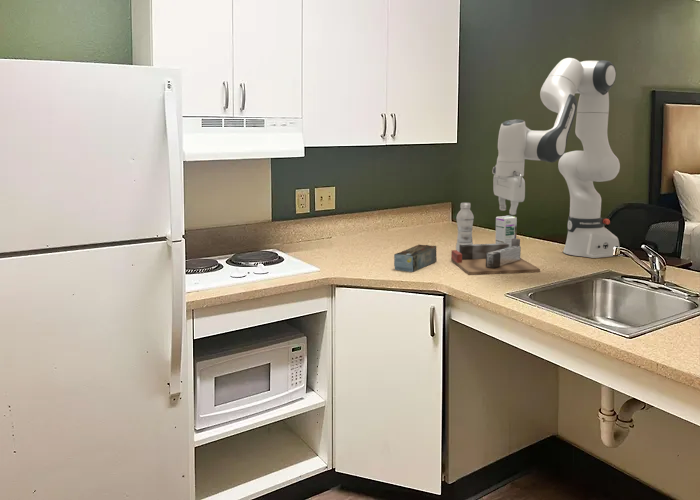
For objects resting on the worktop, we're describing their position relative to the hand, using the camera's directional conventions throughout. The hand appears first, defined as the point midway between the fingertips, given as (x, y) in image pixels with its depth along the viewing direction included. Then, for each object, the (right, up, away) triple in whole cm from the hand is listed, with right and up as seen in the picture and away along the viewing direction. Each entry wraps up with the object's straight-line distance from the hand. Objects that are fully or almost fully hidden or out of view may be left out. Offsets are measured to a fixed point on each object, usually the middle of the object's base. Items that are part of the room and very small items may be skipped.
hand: (507, 212), depth 207 cm
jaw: (+2, -17, +14) cm, 23 cm away
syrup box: (+8, -14, +37) cm, 40 cm away
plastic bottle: (-8, -14, +36) cm, 39 cm away
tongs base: (-1, -18, +16) cm, 24 cm away
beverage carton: (-28, -19, +19) cm, 39 cm away
